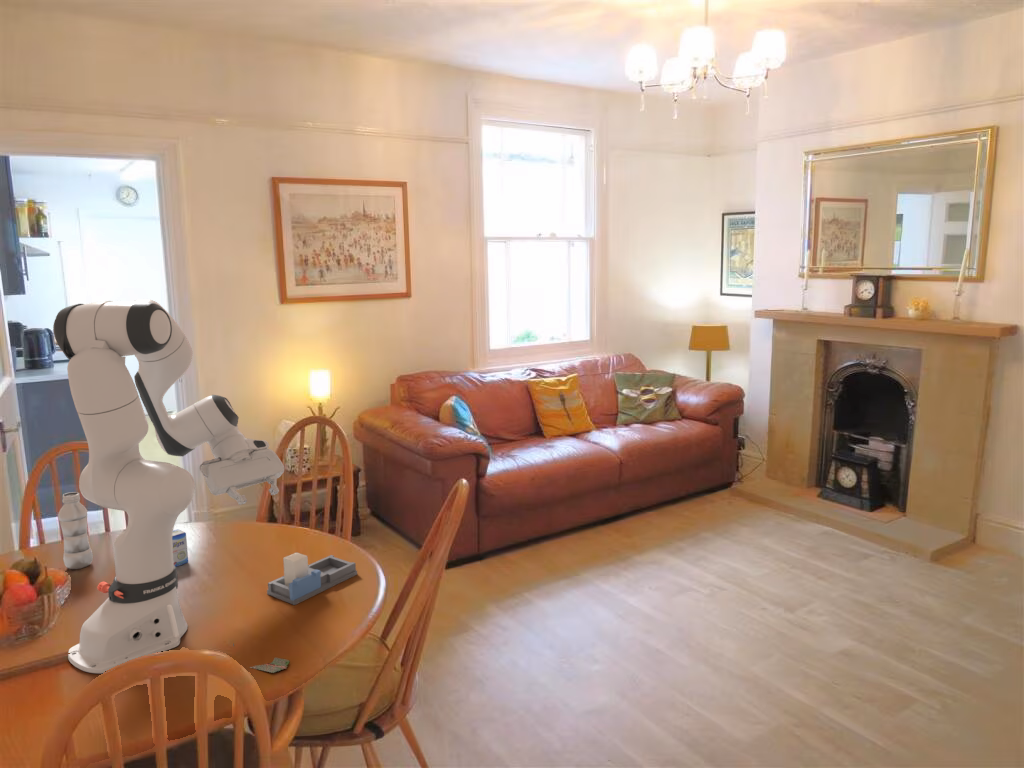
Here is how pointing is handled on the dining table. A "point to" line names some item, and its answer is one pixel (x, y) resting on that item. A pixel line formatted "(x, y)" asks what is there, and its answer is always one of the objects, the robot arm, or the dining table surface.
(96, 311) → the robot arm
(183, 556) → the medicine box
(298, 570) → the white rectangular block
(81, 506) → the plastic bottle
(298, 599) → the two-compartment grey tray
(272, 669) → the map
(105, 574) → the dining table surface
